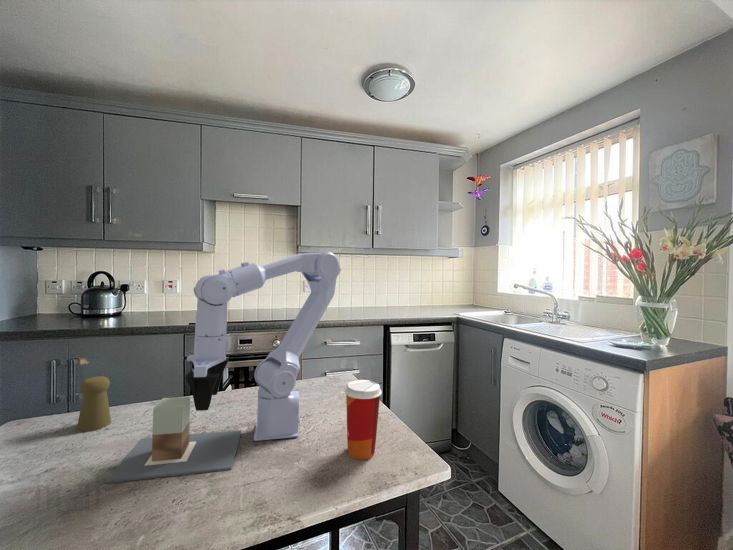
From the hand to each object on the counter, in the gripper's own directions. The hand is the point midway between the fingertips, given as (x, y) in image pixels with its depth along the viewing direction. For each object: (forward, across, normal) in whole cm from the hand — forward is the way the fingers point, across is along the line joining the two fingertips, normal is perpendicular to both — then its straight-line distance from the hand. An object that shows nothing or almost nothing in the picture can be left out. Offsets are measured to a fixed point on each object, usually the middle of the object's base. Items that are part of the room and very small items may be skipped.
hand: (207, 401), depth 64 cm
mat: (+10, 0, -4) cm, 11 cm away
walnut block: (+10, 0, -6) cm, 12 cm away
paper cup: (+10, +6, +31) cm, 33 cm away
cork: (+11, -16, -27) cm, 33 cm away
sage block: (+5, 0, -6) cm, 8 cm away
